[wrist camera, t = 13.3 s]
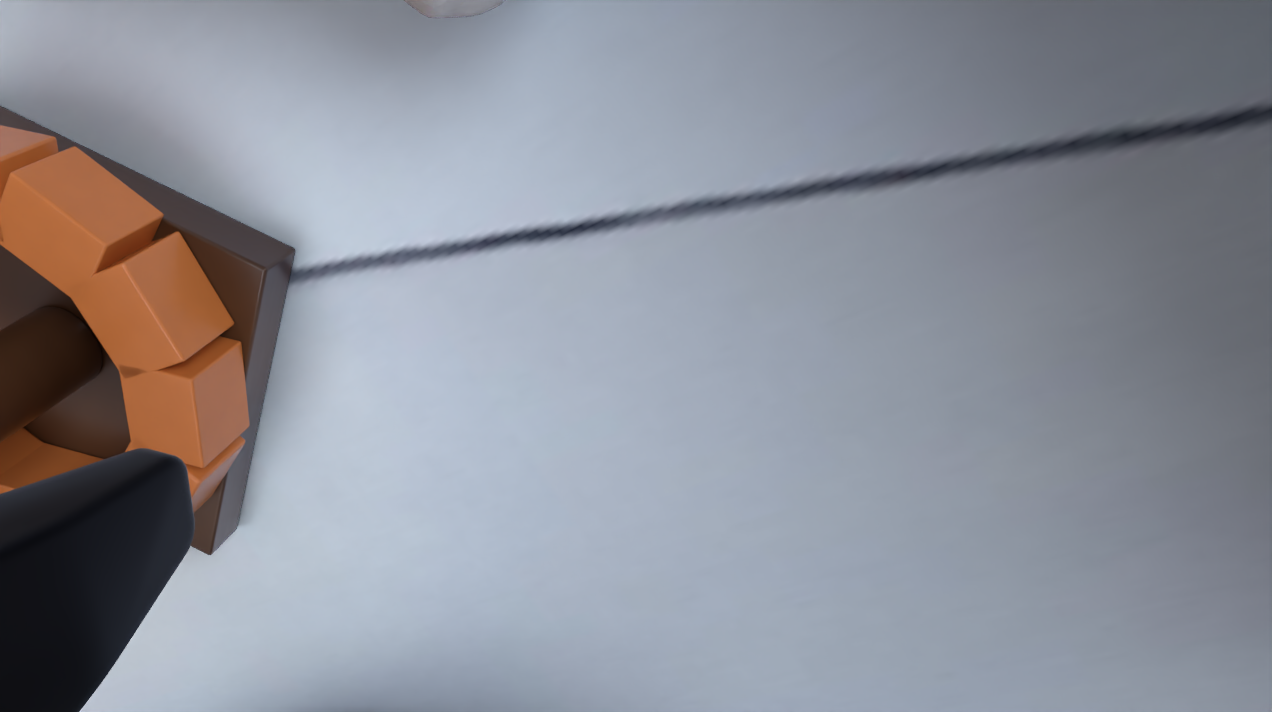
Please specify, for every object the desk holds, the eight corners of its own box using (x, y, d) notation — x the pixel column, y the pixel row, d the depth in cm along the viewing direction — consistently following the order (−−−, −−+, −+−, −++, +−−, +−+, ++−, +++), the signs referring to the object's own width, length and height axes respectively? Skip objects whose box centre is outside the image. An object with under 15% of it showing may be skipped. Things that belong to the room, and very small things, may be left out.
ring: (263, 556, 26) (220, 604, 25) (-78, 460, 28) (-137, 499, 27) (225, 171, 21) (168, 201, 20) (-188, 84, 23) (-269, 105, 22)
